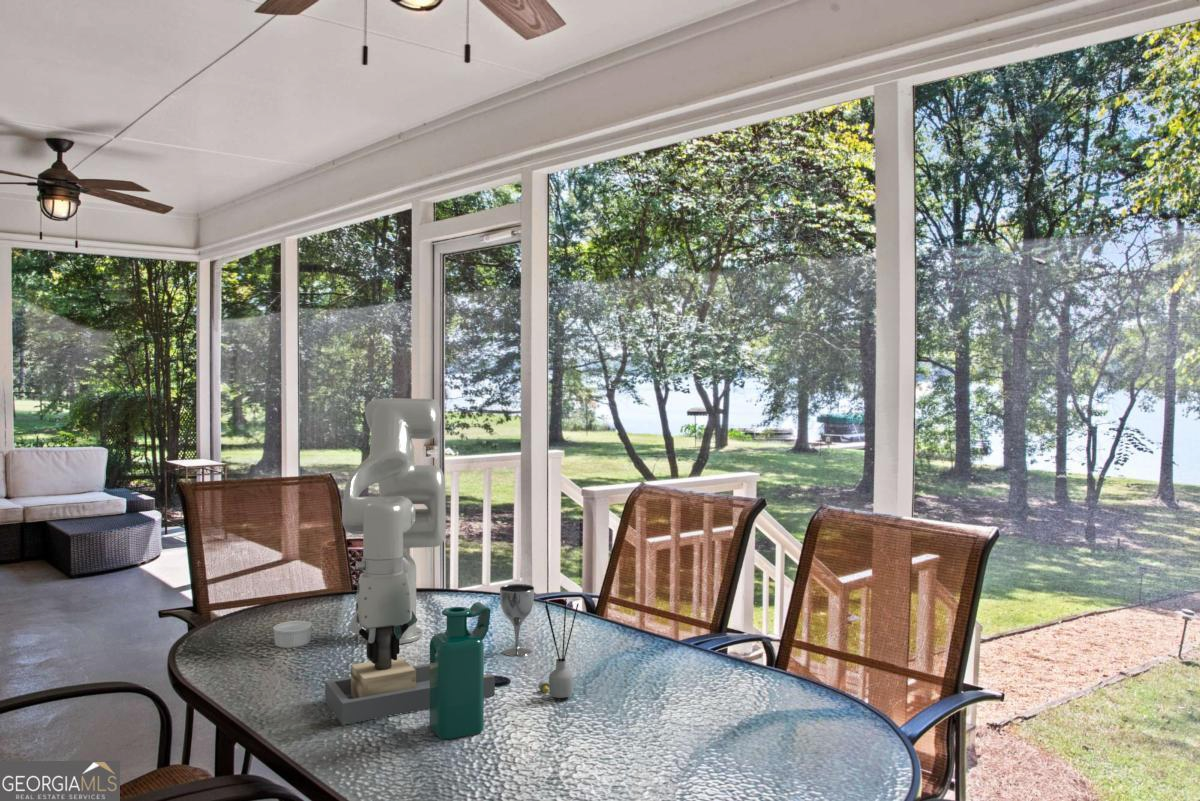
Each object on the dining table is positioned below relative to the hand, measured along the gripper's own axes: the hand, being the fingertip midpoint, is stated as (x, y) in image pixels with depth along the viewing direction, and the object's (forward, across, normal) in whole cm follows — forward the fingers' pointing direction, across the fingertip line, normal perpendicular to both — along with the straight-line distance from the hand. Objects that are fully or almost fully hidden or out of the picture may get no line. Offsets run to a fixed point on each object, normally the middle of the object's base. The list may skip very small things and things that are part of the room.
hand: (383, 659), depth 166 cm
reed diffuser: (+9, +31, -14) cm, 35 cm away
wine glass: (+9, +36, +17) cm, 41 cm away
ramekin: (+9, -8, +50) cm, 51 cm away
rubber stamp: (+8, 0, 0) cm, 8 cm away
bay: (+9, +6, 0) cm, 10 cm away
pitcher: (+9, +9, -19) cm, 23 cm away
